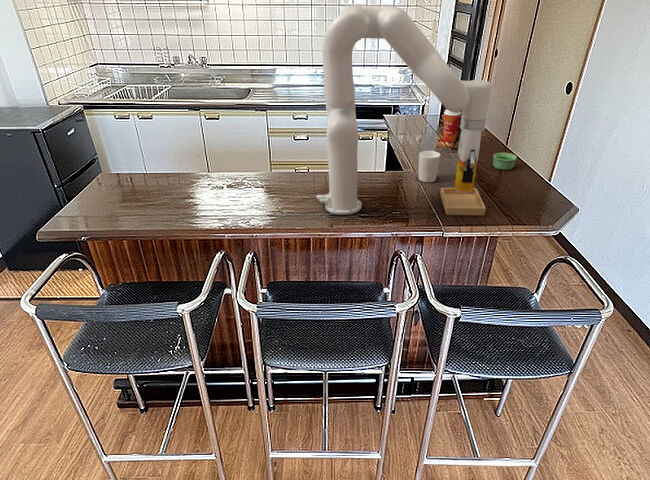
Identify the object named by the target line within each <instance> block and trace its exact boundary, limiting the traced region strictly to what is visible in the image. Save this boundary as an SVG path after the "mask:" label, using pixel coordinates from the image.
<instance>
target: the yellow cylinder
mask: <svg viewBox="0 0 650 480" xmlns="http://www.w3.org/2000/svg"><path fill="white" fill-rule="evenodd" d="M460 154H461V148H460V150H459V155H458V157H457V164H456V173H455V181H454V188H455V189H456V191H457V192H459V193H470V192H471V191H472V190H473V188H475V187H474V186H475V179H476V173H477V167H478V161H479V159H478V160H477V162H475V165H474V174H473V180H472V182H471V183H463V182H462V177H463V170H465V162H462V161H461V160H460ZM467 161H470V159H467ZM469 164H470V163H467V166H468V165H469Z"/></svg>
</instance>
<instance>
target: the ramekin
mask: <svg viewBox="0 0 650 480" xmlns="http://www.w3.org/2000/svg"><path fill="white" fill-rule="evenodd" d="M492 158H493V159H492V160H493V161H492V166H493V167H494V169H497V170H502V171H507V170H508V171H510V170H513V169H514V167H515V164H516V161H517V159H518V157H517V155H515V154H513V153H508V152H497V153H494V154H493V157H492Z"/></svg>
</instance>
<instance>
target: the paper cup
mask: <svg viewBox="0 0 650 480" xmlns="http://www.w3.org/2000/svg"><path fill="white" fill-rule="evenodd" d="M443 114H444V115H443V116H444V118H443V133H442V134H443V137H442V140H443V142H445V143H454V142H456V139H457V133H458V128H459V124H460V119H461V115H462V112H461V111H460V112H451V111H449V110H447V109H446V108H445V110H444V111H443Z"/></svg>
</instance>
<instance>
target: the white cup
mask: <svg viewBox="0 0 650 480" xmlns="http://www.w3.org/2000/svg"><path fill="white" fill-rule="evenodd" d="M440 159H441V153H440V152H438V151H435V150H422V151H420V152H419V153H418V180H419V181H420V182H423V183H433V182H435V181H436V180H437V176H438V171H439V167H440V161H441V160H440Z"/></svg>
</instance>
